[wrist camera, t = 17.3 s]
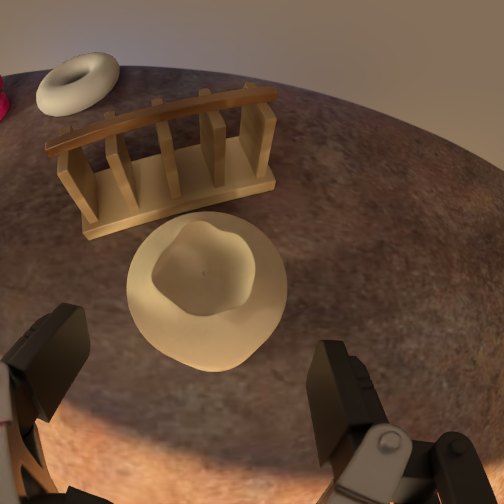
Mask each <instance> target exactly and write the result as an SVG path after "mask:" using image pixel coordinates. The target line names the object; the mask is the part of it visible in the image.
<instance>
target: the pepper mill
mask: <svg viewBox="0 0 504 504" xmlns="http://www.w3.org/2000/svg"><path fill="white" fill-rule="evenodd" d="M2 87H3V79H2V77H1V75H0V121H1V119H2V118H3V117H4V116H5V114H6V113H7V111H8V109H9V107H10V102H9V100H8V98H7V96H6V94H5V93H1V90H2Z"/></svg>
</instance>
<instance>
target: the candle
mask: <svg viewBox="0 0 504 504" xmlns="http://www.w3.org/2000/svg"><path fill="white" fill-rule="evenodd" d="M127 299H128V305H129V309H130V312H131V315H132V317H133V320H134V322H135V324H136V326H137V327H138V329H139V330H140V332H141V333H142V335H143V336H144V337H145V338H146V339H147V340H148V342H150V343H151V344H152V345H153V346H154V347H155V348H156V349H158V350H159V351H161V352H162V353H164V354H165V355H167V356H169V357H171V358H173V359H175V360H178V361H180V362H182V363H184V364H187V365H189V366H191V367H194V368H196V369H199V370H203V371H209V372H219V371H225V370H229V369H231V368H234V367H236V366H238V365H239V364H241V363H242V362H244V361H245V360H246V359H247V358H248V357H249V356H250V355H251V354H252V353H254V352H255V351H256V350H257V349H258V348H259V347H260V346H261V345H262V344H263V343H264V342H265V341H266V340H267V339H268V338H269V336H270V335H271V334H272V332H273V331H274V330H275V328H276V327H277V325H278V323H279V321H280V319H281V317H282V314H283V311H284V308H285V304H286V300H287V276H286V271H285V267H284V264H283V261H282V259H281V257H280V255H279V253H278V251H277V249H276V248H275V246H274V245H273V243H272V242H271V241H270V240H269V238H268V237H267V236H266V235H265V234H264V233H263V232H261V231H260V230H259V229H258V228H257V227H255V226H254V225H252V224H251V223H249V222H247V221H245V220H243V219H241V218H239V217H236V216H233V215H230V214H226V213H220V212H207V211H204V212H194V213H189V214H185V215H182V216H179V217H176V218H174V219H172V220H170V221H168V222H166V223H164V224H163V225H161V226H160V227H158V228H157V229H156V230H155V231H153V232H152V233H151V234H150V235H149V236H148V237H147V238H146V239H145V240H144V242H143V243H142V244H141V246H140V247H139V249H138V250H137V252H136V254H135V256H134V258H133V260H132V263H131V265H130V269H129V273H128V279H127Z"/></svg>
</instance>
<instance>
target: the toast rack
mask: <svg viewBox="0 0 504 504" xmlns="http://www.w3.org/2000/svg"><path fill="white" fill-rule="evenodd" d="M277 97H278V91H277V90H276V88H275V87H274V86H264V87H257V86H256V85H255V83H254V82H248V83H244V89H239V90H232V91H225V92H219V93H213V94H211V92H210V90H209V88H206V89H200V90H198V96H196V97H191V98H186V99H181V100H177V101H172V102H168V103H164V104H163V100H162V98H157V99H153V100H151V104H152V106H151V107H147V108H143V109H140V110H136V111H132V112H129V113H125V114H122V115H118V116H117V115H116V112H115V110H114V111H110V112H107V113H105V120H102V121H99V122H96V123H93V124H90V125H87V126H85V127H82V128H79V129H76V130H73V129H72V127H71V125H69V126H67V127H64V128H62V129H61V135H60V136H58V137H55V138H53V139H50V140H48V141H46V146H45V151H46V153H47V154H48V156H49V158H51V157H54V156H56V155H58V165H57V175H58V177H59V178H60V180H61V181H62V183H63V185H64V186H65V188H66V189H67V191H68V192H69V194H70V195H71V197H72V198H73V200H74V201H75V203H76V204H77V206H78V207H79V209H80V210H81V216H82V232H83V234H84V235H85V236H86V238H87V239H88V240H91V239H95V238H98V237H101V236H104V235H107V234H110V233H114V232H117V231H120V230H124V229H127V228H130V227H134V226H137V225H140V224H144V223H147V222H151V221H154V220H158V219H161V218H165V217H168V216H172V215H176V214H179V213H183V212H187V211H190V210H194V209H198V208H202V207H206V206H209V205H213V204H217V203H221V202H225V201H229V200H233V199H237V198H241V197H246V196H250V195H254V194H258V193H262V192H267V191H271V190H274V187H275V183H276V179H275V177H274V175H273V173H272V171H271V169H270V167H269V165H268V160H269V155H270V150H271V145H272V140H273V135H274V130H275V125H276V121H277V118H276V116H275V114H274V113H273V111H272V110H271V108H270V106H269V105H268V102H276V101H277ZM239 106H242V112H241V124H240V135H239V136H237V137H232V138H227V139H226V125H225V122H224V120H223V118H222V116H221V114H220V111H219V110H221V109H227V108H233V107H239ZM195 114H199V120H200V140H201V144H198V145H194V146H190V147H185V148H181V149H177V150H174V147H173V141H172V136H171V132H170V128H169V124H168V120H172V119H176V118H181V117H185V116H190V115H195ZM152 124H155V125H156V130H157V135H158V140H159V145H160V150H161V154H158V155H154V156H150V157H146V158H143V159H139V160H136V161H132V162H131V160H130V157H129V154H128V151H127V148H126V144H125V141H124V138H123V135H122V133H123V132H126V131H130V130H133V129H137V128H141V127H144V126H148V125H152ZM104 138H105V150H106V158H107V161H108V163H109V166H110V168H109V169H106V170H103V171H100V172H97V173H93V171H92V169H91V167H90V165H89V163H88V161H87V159H86V157H85V155H84V153H83V151H82V148H81V146H83V145H86V144H89V143H92V142H95V141H98V140H101V139H104Z"/></svg>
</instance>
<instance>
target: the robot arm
mask: <svg viewBox="0 0 504 504" xmlns="http://www.w3.org/2000/svg"><path fill="white" fill-rule="evenodd" d="M89 353H90V339H89V334H88V329H87V323H86V317H85V312H84V309H83V308H82V307H81V306H76V305H72V304H68V303H61V304H60V305H59V306H58V307H57V308H56V309H55V310H54V311H53V312H52V313H49V314H47V315H45V316H43V317H41V318H40V319H38V320H37V321H36V322H35V323H34V324H33V325H32V326H31V327H30V330H27V331H26V332H25V333H24V335H23V337H21V338H20V339H19V340H18V341H17V342H16V343H15V344H14V345H13V347H12V348H11V349H10V350H9V351H8V352H7V353H6V354H5V356H4V357H3V358H2V359H1V360H0V504H113V503H112V502H110V501H108V500H106V499H104V498H101V497H98V496H95V495H92V494H89V493H86V492H84V491H81V490H79V489H76V488H74V487H71V486H69V487H68V489H67V492H66V494H65V493H59V492H58V490H57V488H56V486H55V484H54V482H53V481H52V479H51V477H50V475H49V472H48V469H47V465H46V462H45V458H44V454H43V450H42V446H41V441H40V437H39V432H38V428H37V425H36V424H35V420H36V419H37V418H38V419H41V420H43V421H45V422H48V423H49V422H50V420H51V418H52V416H53V415H54V413H55V411H56V409H57V408H58V406H59V404H60V403H61V401H62V399H63V397H64V396H65V394H66V392H67V391H68V389H69V387H70V386H71V384H72V383H73V381H74V379H75V378H76V376H77V374H78V373H79V371H80V370H81V368H82V366H83V365H84V363H85V362H86V360H87V358H88V356H89ZM306 389H307V395H308V401H309V406H310V411H311V417H312V422H313V428H314V434H315V439H316V445H317V451H318V457H319V463H320V468H332V469H333V474H334V479H333V480H332V482H331V483H330V485H329V486H328V488H327V489H326V490H325V492H324V493H323V495H322V496H321V497H320V499H319V500H318V501H317V503H316V504H390V502H394V504H440V500H441V503H442V504H498V503H497V501H496V498H495V495H494V493H493V490H492V488H491V485H490V483H489V480H488V478H487V475H486V473H485V471H484V468H483V466H482V464H481V461H480V459H479V457H478V455H477V452H476V450H475V448H474V446H473V444H472V442H471V441H470V440H469V439H468V438H467V437H466V436H465V435H463V434H461V433H459V432H453V431H452V432H446V433H444V434H443V435H441V436H440V438H439V439H438V440H437V441H436V442H435V443H432V442H423V441H415V440H411V438H410V437H409V435H408V434H407V433H406V432H405V431H404V430H403V429H402V428H400V427H398V426H396V425H393V424H389V422H388V419H387V417H386V414H385V412H384V409H383V407H382V404H381V402H380V400H379V397H378V395H377V392H376V390H375V389H374V385H373V383H372V380H370V376H369V373H368V371H367V369H366V366H365V365H364V364H363V363H362V362H361V361H360V360H359V359H358V358H357V357H356V356H349V355H348V352H347V350H346V347H345V345H344V343H343V341H336V340H319V342H318V344H317V347H316V350H315V353H314V356H313V359H312V362H311V366H310V369H309V372H308V375H307V382H306ZM437 493H438V494H439V497H440V500H439V497H438V494H437Z"/></svg>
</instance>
